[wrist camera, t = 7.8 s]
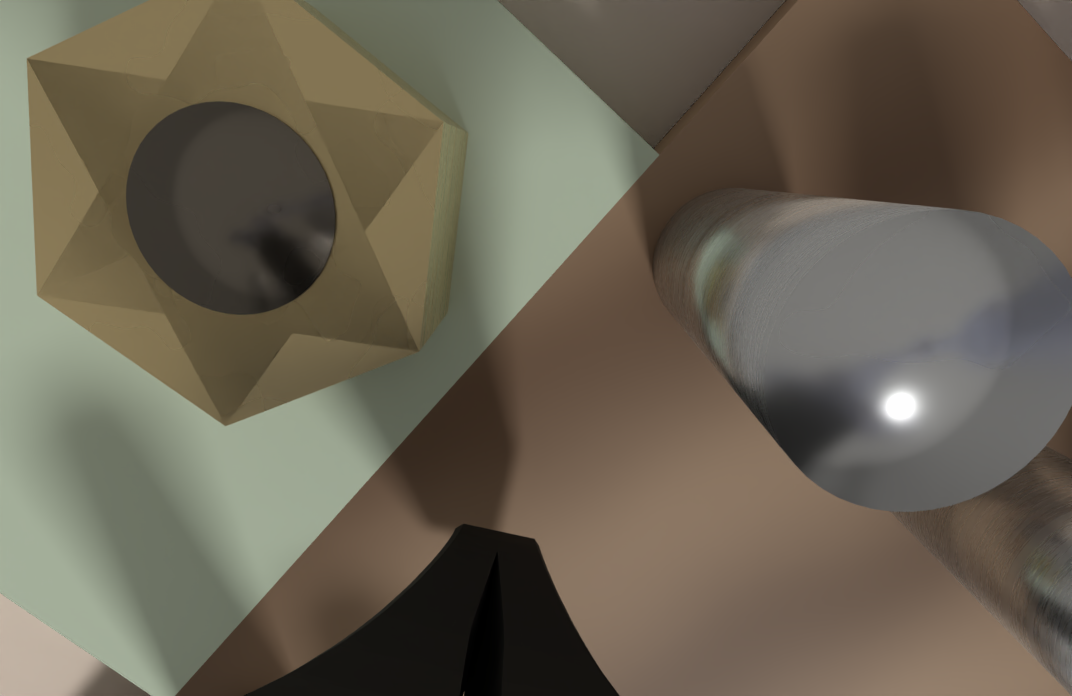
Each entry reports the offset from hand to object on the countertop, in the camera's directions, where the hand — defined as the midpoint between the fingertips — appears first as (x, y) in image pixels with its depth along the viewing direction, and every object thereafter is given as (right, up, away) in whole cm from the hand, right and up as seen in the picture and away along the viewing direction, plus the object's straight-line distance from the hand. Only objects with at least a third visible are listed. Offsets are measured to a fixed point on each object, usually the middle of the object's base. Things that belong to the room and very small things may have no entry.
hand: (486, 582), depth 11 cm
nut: (-3, +6, 0) cm, 7 cm away
